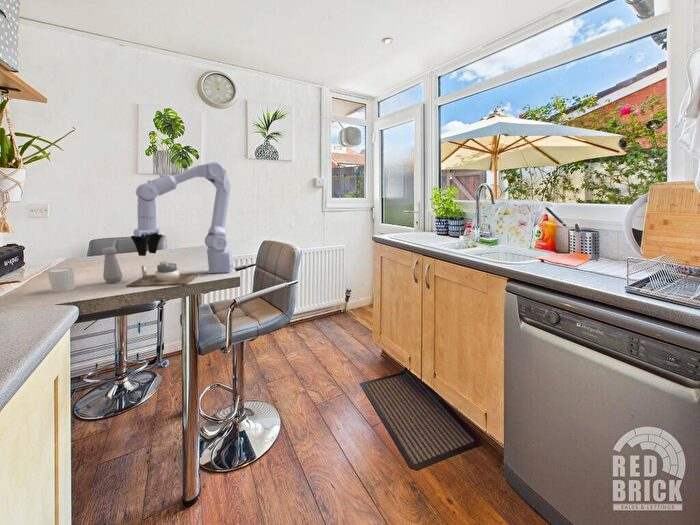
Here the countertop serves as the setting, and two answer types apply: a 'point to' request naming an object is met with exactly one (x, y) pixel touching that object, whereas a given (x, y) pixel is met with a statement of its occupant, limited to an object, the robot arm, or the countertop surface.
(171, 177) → the robot arm
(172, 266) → the lid
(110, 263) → the salt shaker
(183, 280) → the board
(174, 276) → the jar
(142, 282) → the stop pin
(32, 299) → the countertop surface
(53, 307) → the countertop surface
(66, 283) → the grey tapered cup
